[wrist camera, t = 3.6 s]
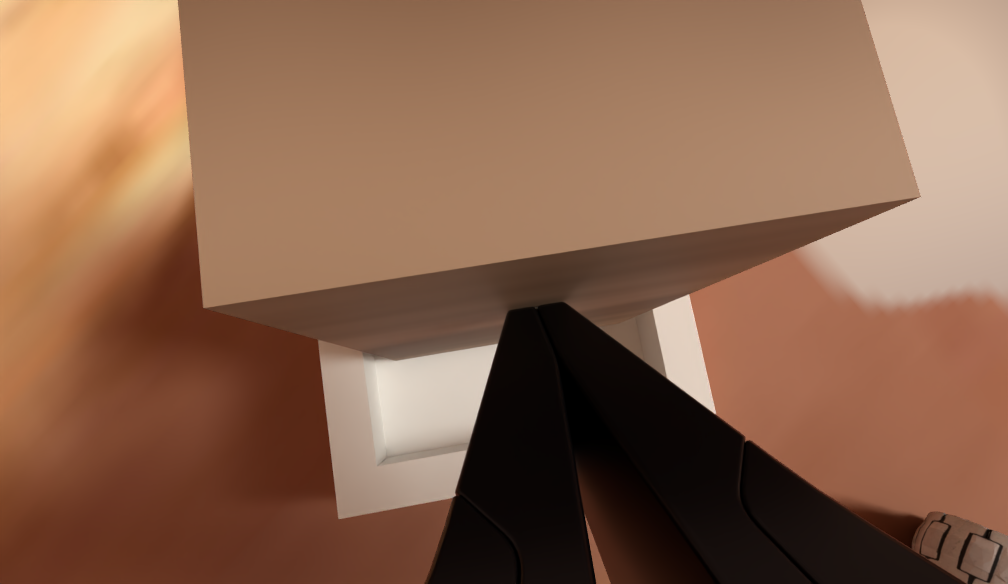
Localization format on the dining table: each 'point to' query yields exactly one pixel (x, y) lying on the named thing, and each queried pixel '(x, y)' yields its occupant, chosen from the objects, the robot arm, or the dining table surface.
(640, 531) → the robot arm
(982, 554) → the wristwatch
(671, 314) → the white rectangular recessed tray
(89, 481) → the dining table surface
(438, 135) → the walnut block
